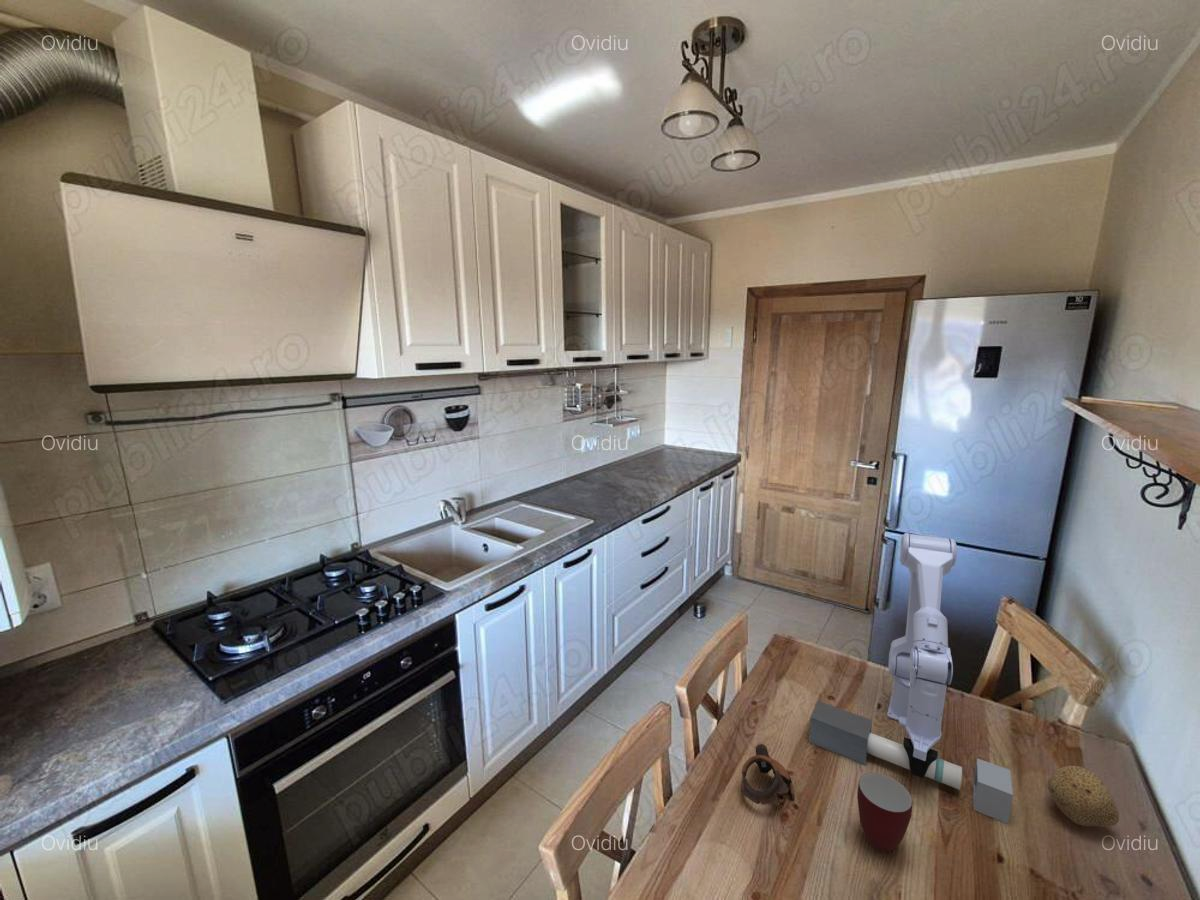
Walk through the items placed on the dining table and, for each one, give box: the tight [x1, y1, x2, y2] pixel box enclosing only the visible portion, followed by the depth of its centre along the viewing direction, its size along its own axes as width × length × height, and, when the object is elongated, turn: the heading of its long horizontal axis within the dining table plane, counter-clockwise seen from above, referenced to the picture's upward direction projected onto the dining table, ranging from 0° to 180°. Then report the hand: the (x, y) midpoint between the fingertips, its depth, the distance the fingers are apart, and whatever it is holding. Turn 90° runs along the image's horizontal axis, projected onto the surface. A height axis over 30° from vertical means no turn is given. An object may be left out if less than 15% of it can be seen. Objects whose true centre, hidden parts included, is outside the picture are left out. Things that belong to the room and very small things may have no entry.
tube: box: [867, 732, 963, 790], centre depth 102 cm, size 23×4×4 cm, turn 54°
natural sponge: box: [1047, 765, 1120, 828], centre depth 89 cm, size 9×9×10 cm
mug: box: [856, 772, 914, 853], centre depth 87 cm, size 11×8×10 cm
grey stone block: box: [808, 700, 873, 766], centre depth 108 cm, size 11×7×6 cm, turn 54°
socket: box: [972, 758, 1014, 825], centre depth 93 cm, size 5×7×6 cm
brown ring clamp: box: [740, 743, 796, 806], centre depth 97 cm, size 12×10×8 cm
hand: (918, 767), depth 100 cm, fingers closed on tube, 4 cm apart
